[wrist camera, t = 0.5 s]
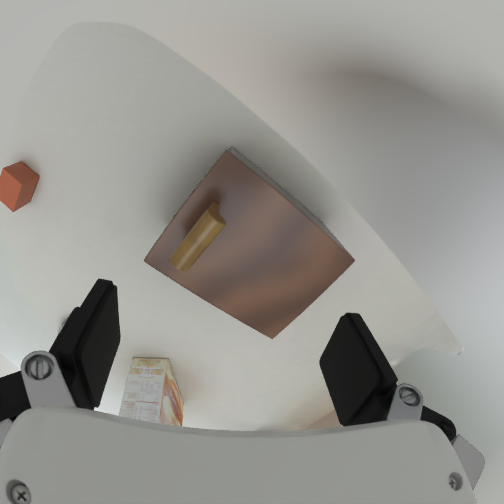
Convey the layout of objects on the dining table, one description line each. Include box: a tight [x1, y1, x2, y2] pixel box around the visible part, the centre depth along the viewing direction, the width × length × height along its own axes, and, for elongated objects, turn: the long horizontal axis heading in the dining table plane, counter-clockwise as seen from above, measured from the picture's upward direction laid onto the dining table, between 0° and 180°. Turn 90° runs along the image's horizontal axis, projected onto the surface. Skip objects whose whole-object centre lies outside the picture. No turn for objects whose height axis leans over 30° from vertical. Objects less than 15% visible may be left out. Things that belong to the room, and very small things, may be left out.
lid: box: [144, 150, 355, 339], centre depth 25 cm, size 17×13×5 cm
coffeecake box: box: [119, 358, 184, 426], centre depth 39 cm, size 15×7×20 cm, turn 0°
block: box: [0, 162, 40, 212], centre depth 27 cm, size 4×4×4 cm
